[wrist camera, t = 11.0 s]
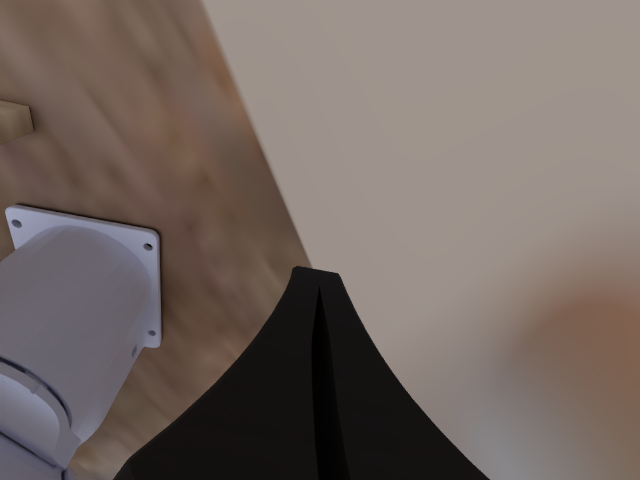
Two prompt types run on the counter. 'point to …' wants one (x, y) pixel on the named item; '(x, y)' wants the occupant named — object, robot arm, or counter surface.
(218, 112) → the counter surface
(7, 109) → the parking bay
